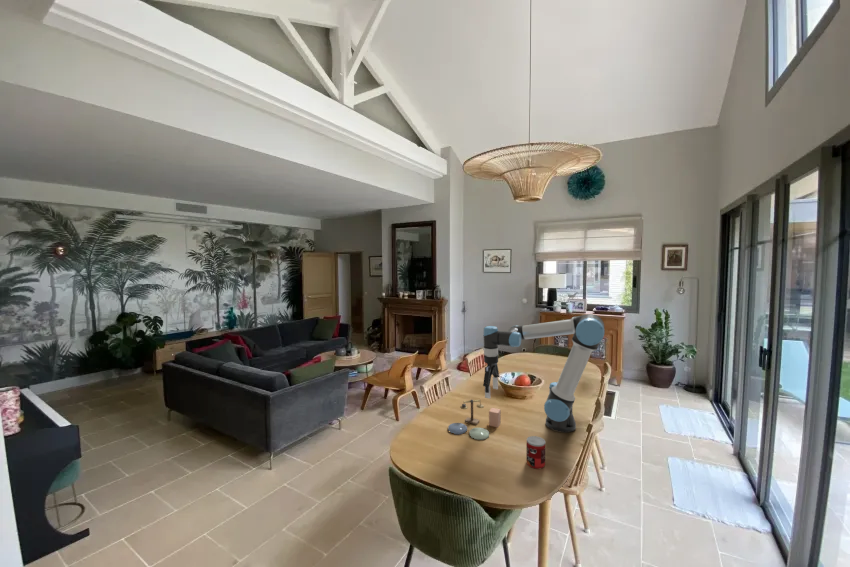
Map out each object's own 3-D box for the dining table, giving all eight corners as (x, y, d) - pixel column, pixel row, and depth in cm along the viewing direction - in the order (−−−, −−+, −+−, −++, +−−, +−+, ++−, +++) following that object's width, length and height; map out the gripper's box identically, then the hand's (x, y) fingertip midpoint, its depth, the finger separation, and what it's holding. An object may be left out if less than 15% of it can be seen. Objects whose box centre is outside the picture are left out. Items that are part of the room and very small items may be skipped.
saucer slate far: (469, 427, 190) (469, 425, 190) (462, 436, 181) (462, 433, 181) (452, 423, 194) (452, 421, 194) (445, 431, 186) (445, 429, 186)
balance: (485, 423, 194) (484, 399, 193) (482, 426, 191) (482, 402, 189) (462, 418, 200) (461, 394, 199) (459, 421, 197) (459, 397, 196)
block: (500, 423, 193) (500, 409, 193) (497, 427, 189) (497, 413, 188) (491, 421, 196) (491, 407, 195) (488, 425, 191) (488, 411, 191)
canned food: (523, 459, 160) (523, 436, 159) (540, 458, 160) (541, 435, 159) (530, 470, 152) (530, 445, 151) (548, 468, 153) (548, 444, 152)
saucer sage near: (491, 432, 184) (491, 430, 184) (485, 441, 175) (485, 439, 175) (473, 428, 189) (473, 426, 189) (466, 437, 180) (466, 434, 180)
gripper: (491, 348, 203) (492, 384, 204) (476, 360, 181) (477, 400, 183) (504, 349, 199) (504, 386, 201) (490, 362, 177) (491, 403, 179)
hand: (491, 393), depth 192 cm, fingers open, 13 cm apart
